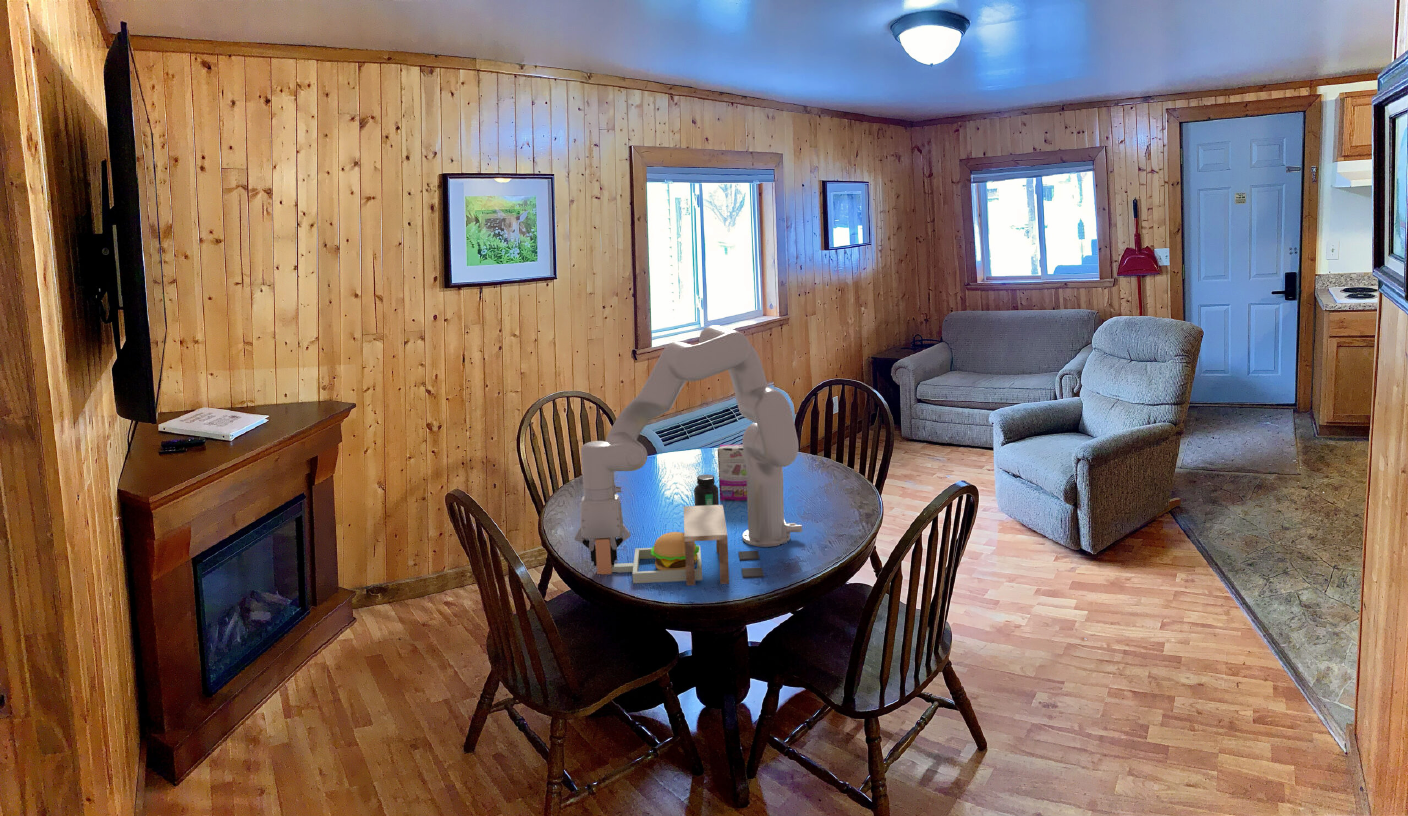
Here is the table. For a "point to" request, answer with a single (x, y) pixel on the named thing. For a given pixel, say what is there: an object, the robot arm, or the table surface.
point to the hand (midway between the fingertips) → (604, 562)
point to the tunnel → (705, 537)
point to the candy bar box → (732, 473)
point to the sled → (638, 577)
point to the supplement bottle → (706, 491)
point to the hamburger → (671, 552)
